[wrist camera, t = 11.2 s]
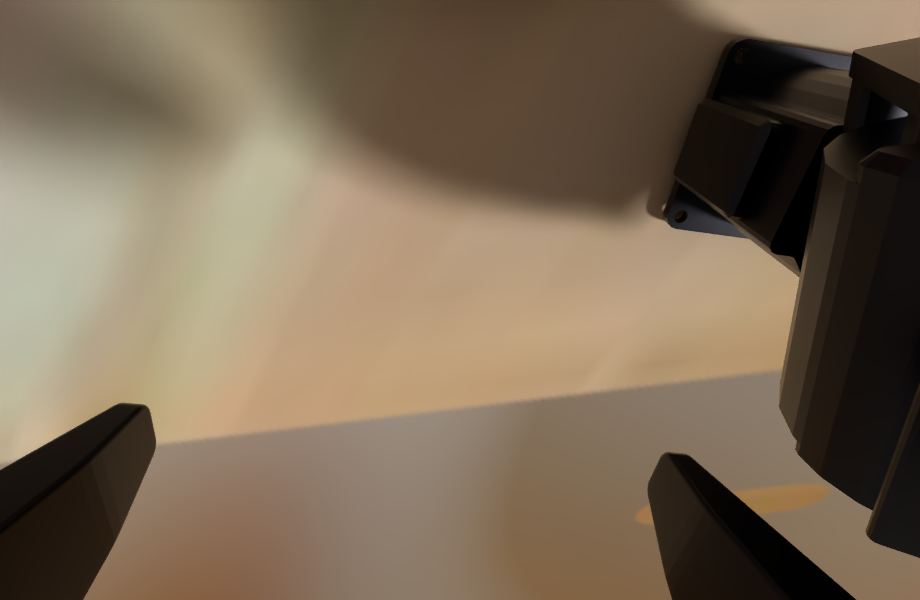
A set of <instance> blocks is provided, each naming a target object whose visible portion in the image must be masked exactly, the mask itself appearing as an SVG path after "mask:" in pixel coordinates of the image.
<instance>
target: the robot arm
mask: <svg viewBox="0 0 920 600" xmlns="http://www.w3.org/2000/svg"><path fill="white" fill-rule="evenodd" d="M741 48H743V49H744V52H745V53H744V57H743V59H742V60H741V61H740V62H739V63H736V62H735V60H734V59H735V54H736V53H737V51H738V50H740V49H741ZM674 176H675V177H676V180H675V183H674V186H673V188H672V191H671V194H670V197H669V199H668V202H667V205H666V208H665V210H664V215H663V216H664V220H665V221H666V222H667V223H668V224H669V225H670V226H671V227H672V228H675V229H681V230H689V231H696V232H703V233H711V234H718V235H725V236H733V237H740V238H748V239H750V240H752V241H753V242H754V243H755V244H757V245H758V246H759V247H761V248H762V249H763V250H765V251H766V252H767V253H768V254H770V255H771V256H772V257H774V258H775V259H776V260H778V261H779V262H780V263H781V264H783V265H784V266H785V267H787V268H788V269H789V270H791V271H792V272H793V273H795V274H796V275H797V276H798V277H800V279H799V284H798V290H797V295H796V301H795V306H794V311H793V317H792V322H791V328H790V333H789V338H788V344H787V349H786V354H785V360H784V365H783V371H782V376H781V382H780V398H779V407H780V410H781V412H782V414H783V416H784V418H785V420H786V422H787V424H788V427H789V429H790V431H791V433H792V435H793V436H794V437H795V439H796V440H797V442H796V448H795V450H796V451H797V453H798V455H799V456H800V457H801V458H802V459H803V460H804V461H805V462H806V463H807V464H808V465H809V466H810V467H811V468H812V469H813V470H814V471H815V472H816V473H817V474H818V475H819V476H821V477H822V478H823V479H825V480H826V481H827V482H829V483H830V484H832V485H833V486H835V487H836V488H838V489H839V490H840V491H842V492H843V493H845V494H846V495H847V496H849V497H850V498H852V499H853V500H855V501H856V502H858V503H860V504H861V505H863V506H865V507H867V508H869V509H871V510H873V512H872V515H871V517H870V520H869V523H868V526H867V528H866V534H867V536H868V537H869V538H870V539H871V540H872V541H874V542H875V543H878V544H880V545H883V546H886V547H889V548H892V549H895V550H898V551H901V552H904V553H907V554H910V555H913V556H916V557H919V558H920V38H915V39H909V40H904V41H898V42H893V43H888V44H882V45H877V46H872V47H866V48H861V49H857V50H854V51H853V54H852V57H849V56H843V55H838V54H832V53H826V52H820V51H815V50H809V49H803V48H798V47H792V46H786V45H781V44H775V43H769V42H764V41H758V40H752V39H745V38H740V39H735V40H733V41H731V42H730V43H729V44H728V45H727V46H726V47H725V49H724V51H723V52H722V55H721V58H720V60H719V63H718V66H717V68H716V71H715V74H714V77H713V79H712V82H711V85H710V88H709V90H708V93H707V96H706V98H705V100H703V101H702V102H701V103H700V104H699V105H698V106H697V109H696V112H695V115H694V117H693V120H692V123H691V126H690V128H689V131H688V134H687V137H686V139H685V142H684V145H683V148H682V151H681V153H680V156H679V159H678V162H677V164H676V167H675V170H674ZM680 210H683V214H682V216H681V217H680V218H678V219H674V215H675V214H676V212H678V211H680ZM155 448H156V437H155V432H154V428H153V423H152V418H151V413H150V410H149V408H148V407H147V406H146V405H143V404H132V403H119V404H117V405H115V406H113V407H111V408H109V409H107V410H106V411H104V412H102V413H100V414H98V415H97V416H95V417H93V418H91V419H90V420H88V421H86V422H84V423H83V424H81V425H79V426H77V427H75V428H74V429H72V430H70V431H68V432H67V433H65V434H63V435H61V436H59V437H58V438H56V439H54V440H52V441H51V442H49V443H47V444H45V445H43V446H42V447H40V448H38V449H36V450H35V451H33V452H31V453H29V454H27V455H26V456H24V457H22V458H20V459H19V460H17V461H15V462H13V463H12V464H10V465H8V466H6V467H4V468H3V469H1V470H0V600H83V599H84V597H85V595H86V594H87V592H88V590H89V588H90V587H91V585H92V583H93V581H94V579H95V578H96V576H97V574H98V572H99V570H100V569H101V567H102V565H103V563H104V562H105V560H106V558H107V556H108V554H109V552H110V551H111V549H112V547H113V545H114V543H115V541H116V539H117V537H118V535H119V533H120V531H121V529H122V526H123V524H124V521H125V519H126V517H127V515H128V512H129V510H130V507H131V506H132V503H133V501H134V499H135V496H136V494H137V492H138V489H139V487H140V485H141V483H142V480H143V478H144V476H145V473H146V471H147V468H148V466H149V464H150V462H151V459H152V457H153V455H154V452H155ZM648 498H649V503H650V507H651V512H652V517H653V522H654V526H655V531H656V536H657V541H658V545H659V550H660V554H661V560H662V564H663V568H664V573H665V577H666V580H667V584H668V587H669V591H670V594H671V597H672V600H856V599H855V598H854V597H852V596H851V595H850V594H849V593H848V592H847V591H845V590H844V589H843V588H842V587H841V586H840V585H839V584H837V583H836V582H835V581H834V580H833V579H832V578H830V577H829V576H828V575H827V574H826V573H825V572H823V571H822V570H821V569H820V568H819V567H818V566H817V565H815V564H814V563H813V562H812V561H811V560H810V559H809V558H807V557H806V556H805V555H804V554H802V552H800V551H799V550H798V549H797V548H796V547H795V546H793V545H792V544H791V543H790V542H789V541H788V540H786V539H785V538H784V537H783V536H782V535H781V534H780V533H778V532H777V531H776V530H775V529H774V528H773V527H771V526H770V525H769V524H768V523H767V522H765V520H763V519H762V518H761V517H760V516H759V515H758V514H756V513H755V512H754V511H753V510H752V509H751V508H750V507H748V506H747V505H746V504H745V503H744V502H743V501H741V500H740V499H739V498H738V497H737V496H736V495H734V494H733V493H732V492H731V491H730V490H729V489H728V488H726V487H725V486H724V485H723V484H722V483H721V482H719V481H718V480H717V479H716V478H715V477H714V476H713V475H711V474H710V473H709V472H708V471H707V470H706V469H704V468H703V467H702V466H701V465H700V464H698V463H697V462H696V461H695V460H694V459H693V458H692V457H690V456H689V455H687V454H684V453H673V452H666V453H664V454H663V455H662V456H661V457H660V459H659V461H658V464H657V466H656V468H655V470H654V472H653V474H652V476H651V478H650V480H649V483H648Z"/></svg>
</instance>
